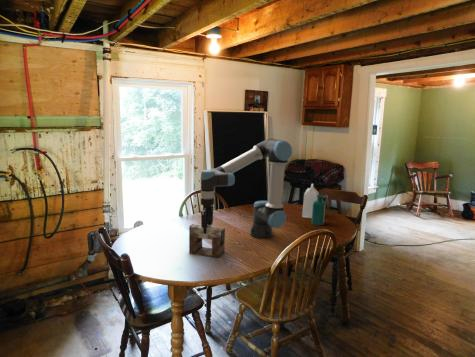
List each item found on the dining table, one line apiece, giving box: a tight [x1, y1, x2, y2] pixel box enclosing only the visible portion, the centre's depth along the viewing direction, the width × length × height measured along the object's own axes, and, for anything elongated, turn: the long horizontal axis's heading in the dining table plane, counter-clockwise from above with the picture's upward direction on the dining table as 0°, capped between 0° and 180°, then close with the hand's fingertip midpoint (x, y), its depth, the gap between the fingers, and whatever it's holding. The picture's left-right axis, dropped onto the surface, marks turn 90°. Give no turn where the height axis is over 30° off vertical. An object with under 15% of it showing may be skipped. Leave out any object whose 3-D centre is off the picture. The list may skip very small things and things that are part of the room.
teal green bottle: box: [311, 194, 329, 226], centre depth 247 cm, size 10×8×22 cm
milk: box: [301, 183, 320, 219], centre depth 266 cm, size 12×12×26 cm
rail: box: [188, 223, 226, 241], centre depth 190 cm, size 20×4×6 cm, turn 73°
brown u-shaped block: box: [188, 234, 226, 259], centre depth 192 cm, size 18×10×11 cm, turn 73°
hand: (207, 237), depth 191 cm, fingers closed on rail, 4 cm apart
